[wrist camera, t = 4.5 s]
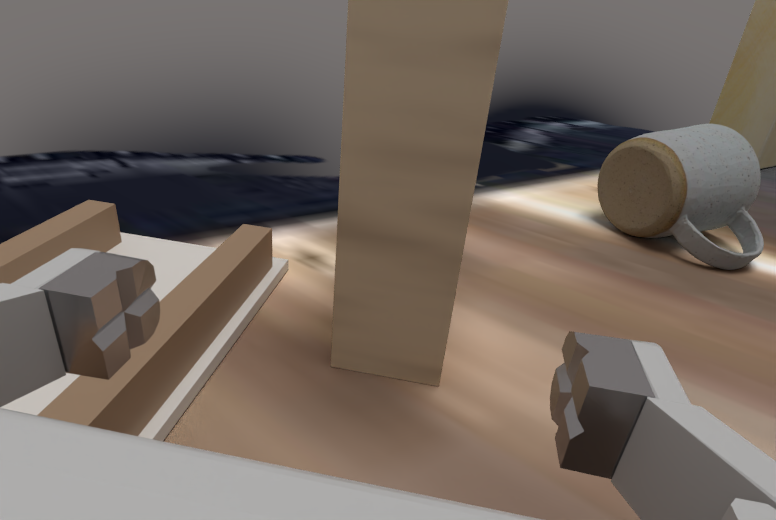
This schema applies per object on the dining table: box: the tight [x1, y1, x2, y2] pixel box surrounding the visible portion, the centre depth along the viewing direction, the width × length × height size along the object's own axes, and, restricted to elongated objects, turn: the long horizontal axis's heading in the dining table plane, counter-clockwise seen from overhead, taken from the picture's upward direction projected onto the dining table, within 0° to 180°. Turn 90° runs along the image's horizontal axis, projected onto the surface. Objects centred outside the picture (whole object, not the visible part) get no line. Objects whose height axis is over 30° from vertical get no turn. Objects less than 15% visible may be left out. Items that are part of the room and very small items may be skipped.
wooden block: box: [331, 0, 508, 386], centre depth 21 cm, size 8×4×14 cm, turn 170°
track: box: [0, 200, 288, 441], centre depth 19 cm, size 20×11×3 cm, turn 170°
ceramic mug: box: [598, 124, 764, 270], centre depth 35 cm, size 11×8×8 cm
